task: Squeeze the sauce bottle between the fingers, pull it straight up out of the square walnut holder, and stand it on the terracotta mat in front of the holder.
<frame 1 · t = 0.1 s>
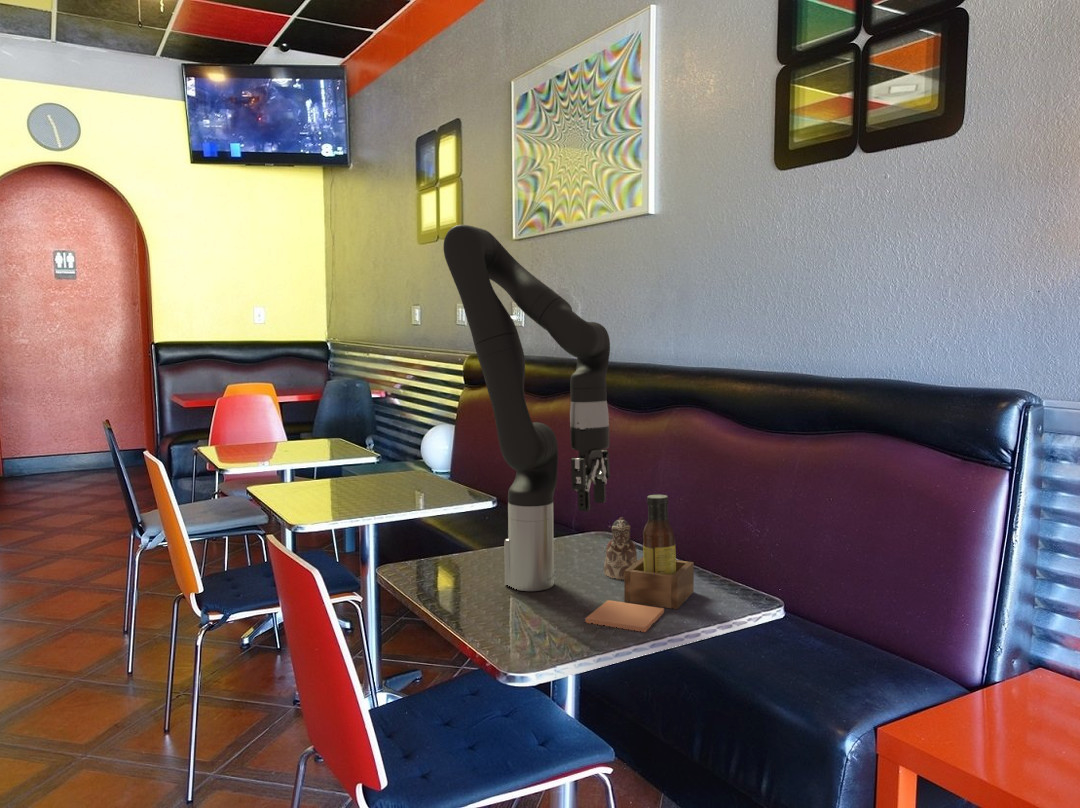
hand: (592, 506, 153), 17 cm above the table, tool pointing down, fingers open, 8 cm apart
terracotta mat: (625, 617, 141), on the table
figurine: (620, 575, 167), on the table
square holder: (659, 596, 152), on the table
sauce bottle: (659, 597, 152), resting in square holder
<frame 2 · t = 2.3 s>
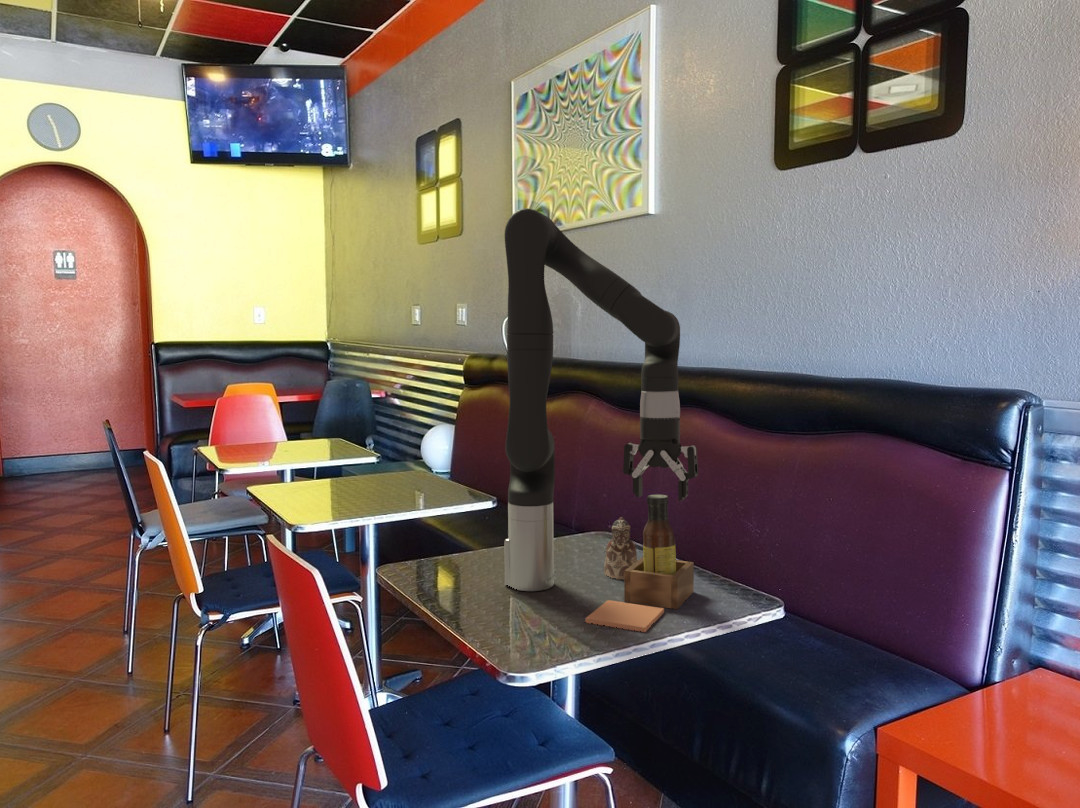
hand: (660, 498, 151), 19 cm above the table, tool pointing down, fingers open, 8 cm apart
nothing on the table moved.
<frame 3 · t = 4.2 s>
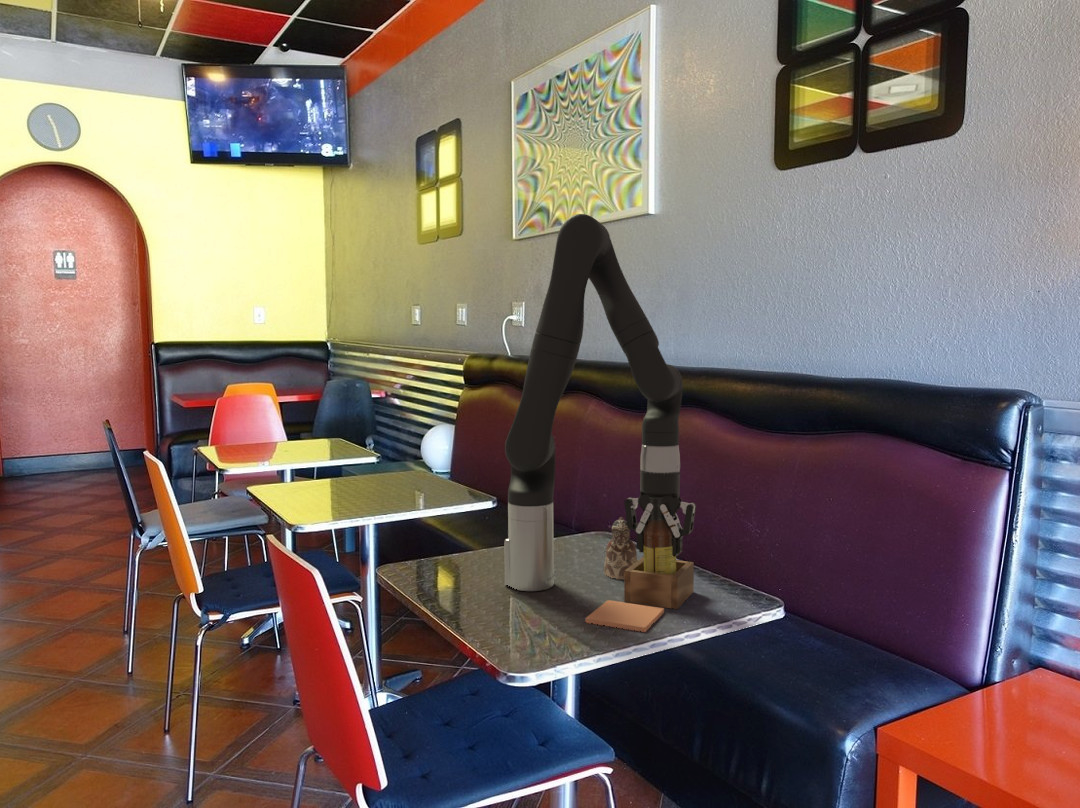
hand: (659, 553, 152), 9 cm above the table, tool pointing down, fingers closed on sauce bottle, 6 cm apart
sauce bottle: (659, 597, 152), resting in square holder, touching gripper
everything else where it was.
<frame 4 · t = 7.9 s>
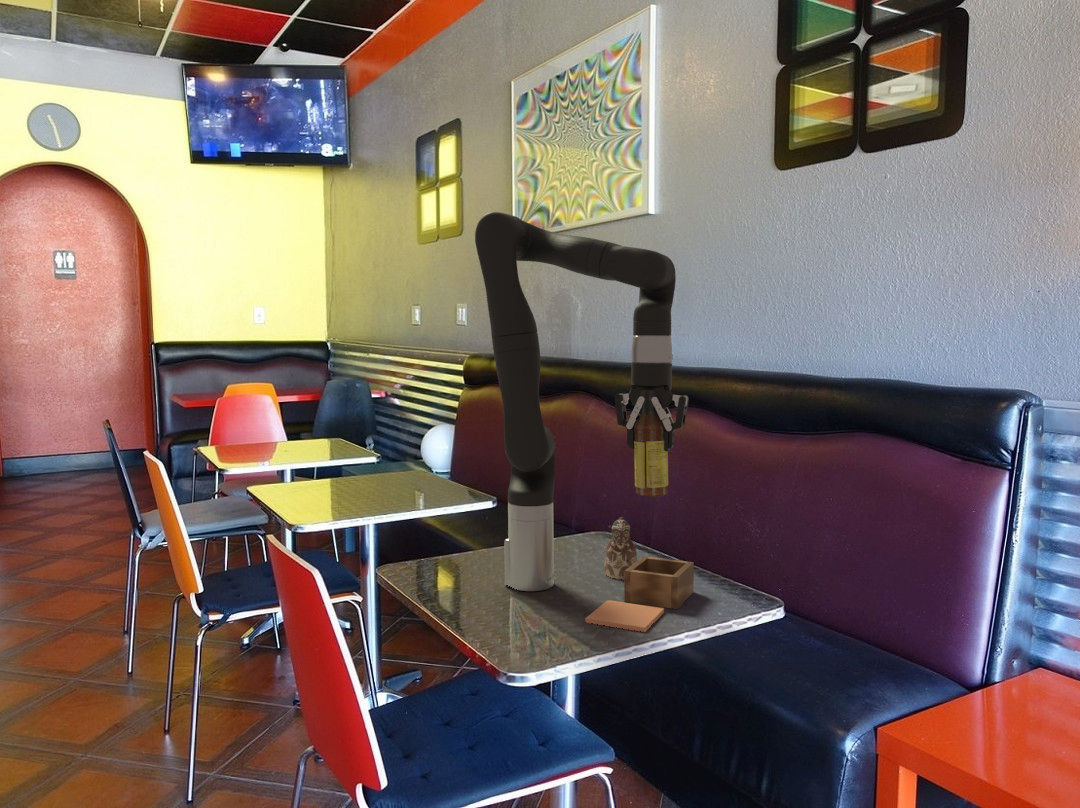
hand: (650, 449, 147), 29 cm above the table, tool pointing down, fingers closed on sauce bottle, 6 cm apart
sauce bottle: (650, 495, 147), point 21 cm above the table, touching gripper
everything else where it was.
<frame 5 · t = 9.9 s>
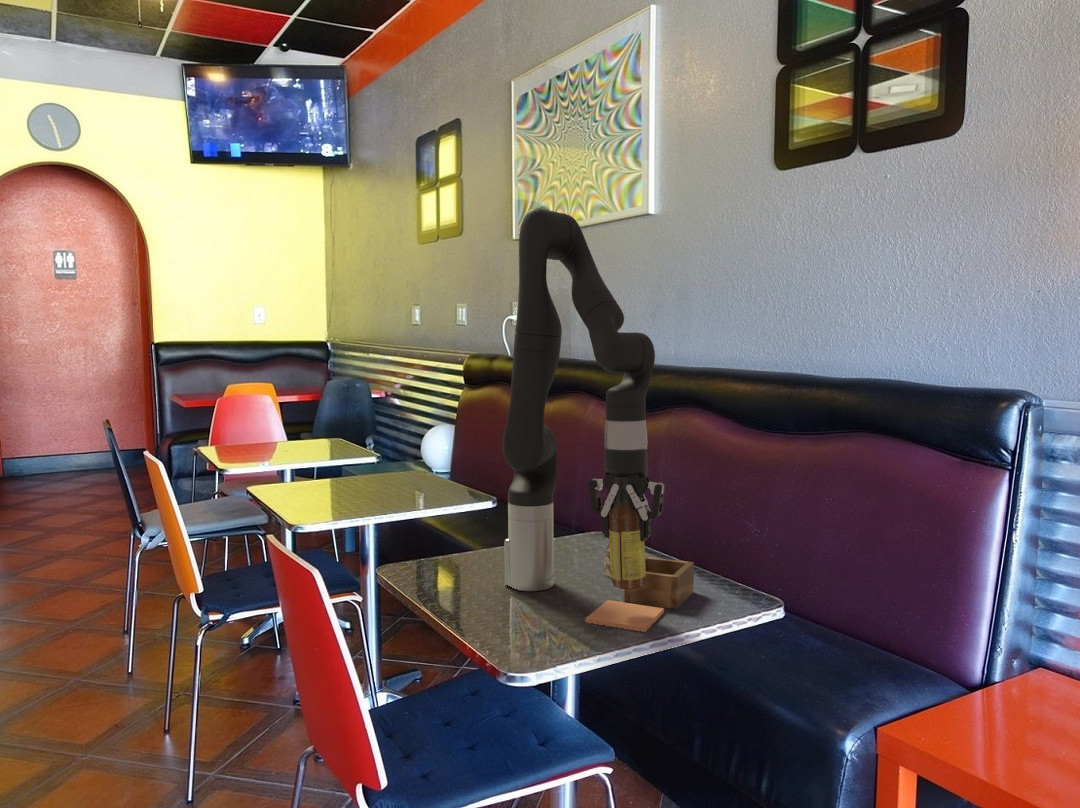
hand: (626, 538, 140), 14 cm above the table, tool pointing down, fingers closed on sauce bottle, 6 cm apart
sauce bottle: (627, 586, 140), point 6 cm above the table, touching gripper
everything else where it was.
when the fingers open (11 cm above the table, at t = 11.6 s): sauce bottle drops 1 cm, resting on terracotta mat.
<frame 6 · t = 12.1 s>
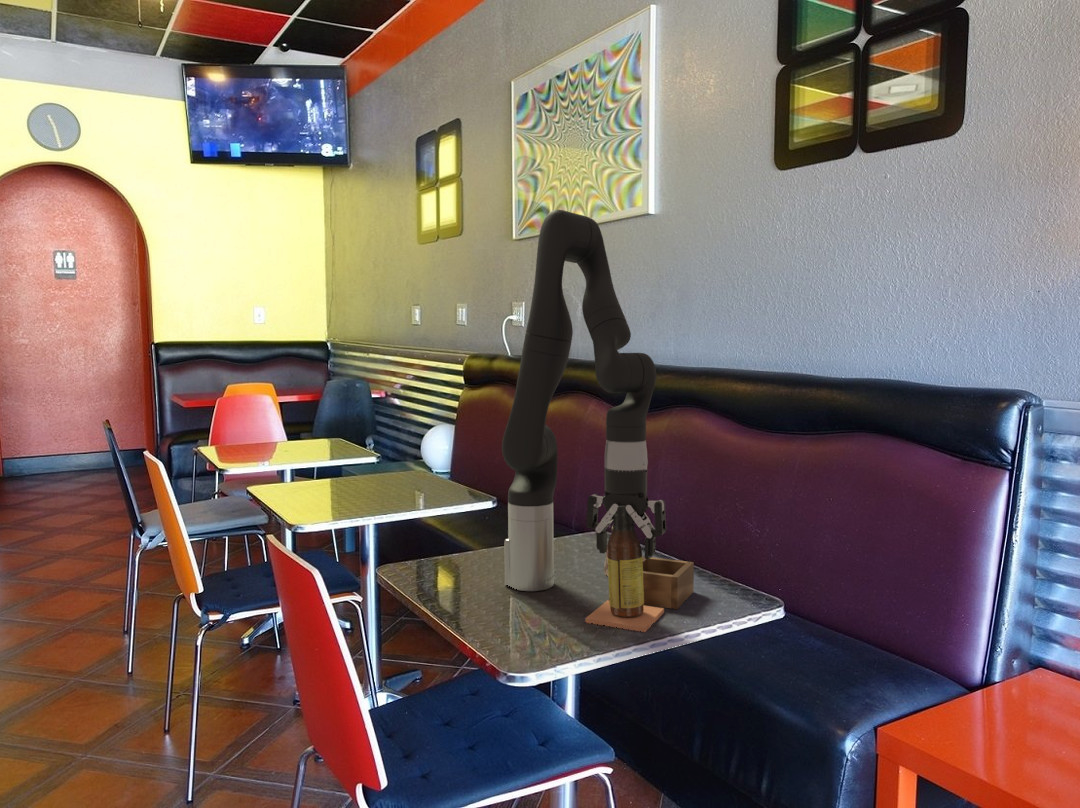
hand: (625, 555, 140), 11 cm above the table, tool pointing down, fingers open, 8 cm apart
sauce bottle: (625, 614, 141), point 1 cm above the table, touching terracotta mat
everything else where it was.
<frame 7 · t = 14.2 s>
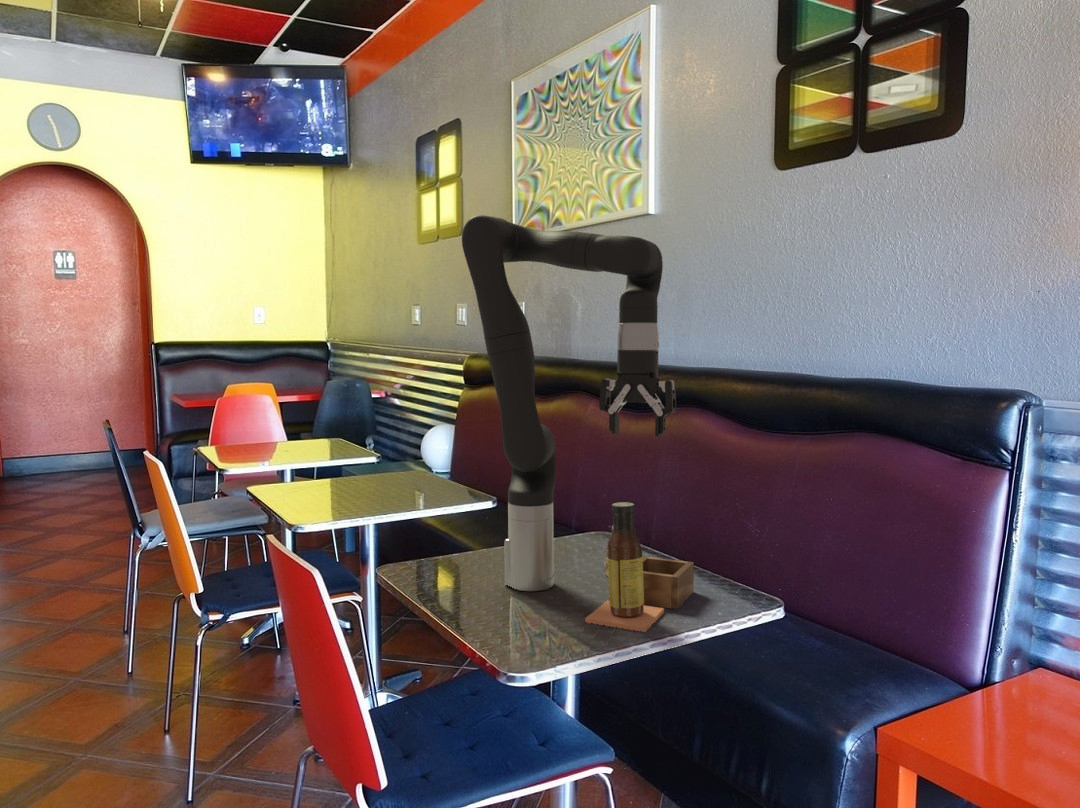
hand: (637, 435, 146), 32 cm above the table, tool pointing down, fingers open, 8 cm apart
nothing on the table moved.
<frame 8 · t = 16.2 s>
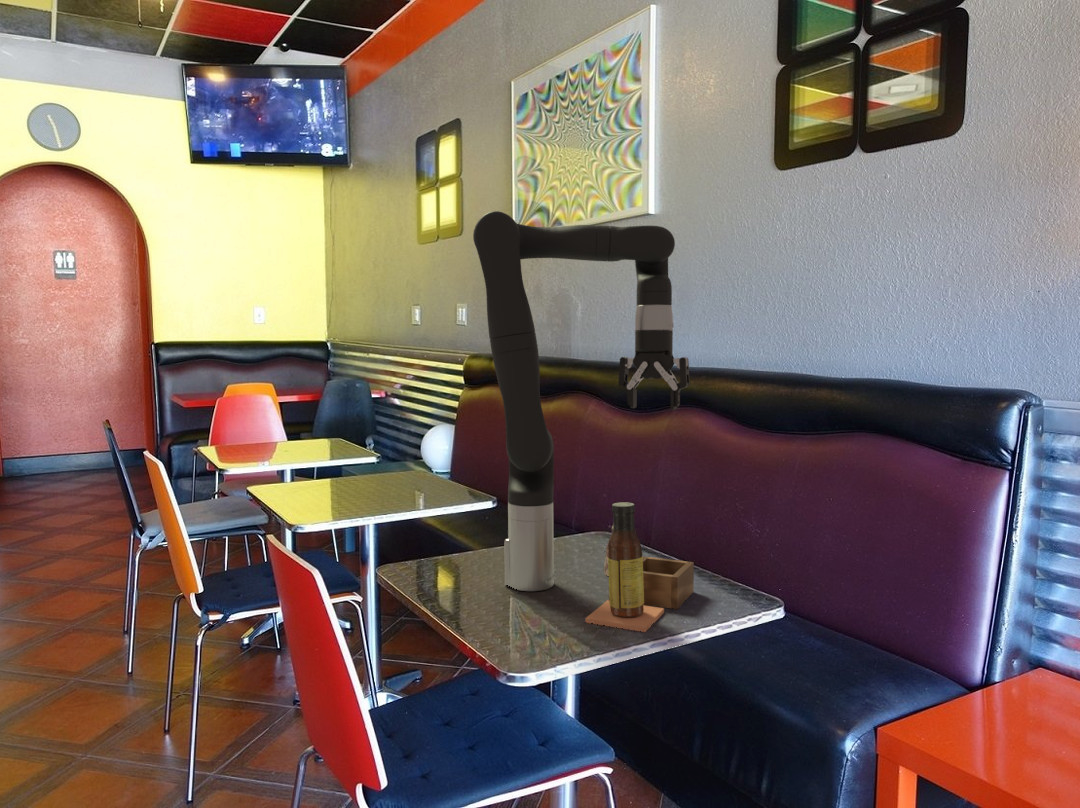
hand: (653, 408, 159), 36 cm above the table, tool pointing down, fingers open, 8 cm apart
nothing on the table moved.
at the end: sauce bottle inside the target area on the terracotta mat (0.1 cm from its centre), point 0.6 cm above the terracotta mat's base; sauce bottle tilted 0°; the gripper is holding nothing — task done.
